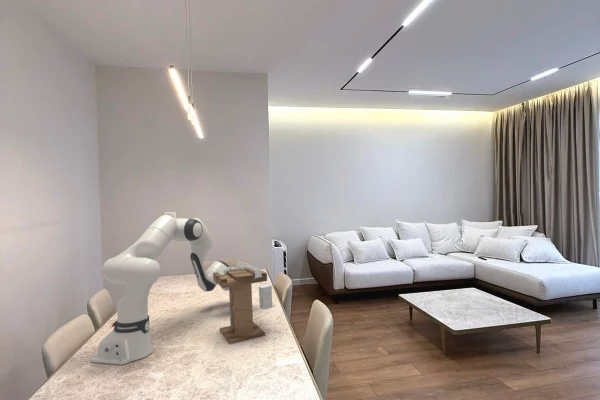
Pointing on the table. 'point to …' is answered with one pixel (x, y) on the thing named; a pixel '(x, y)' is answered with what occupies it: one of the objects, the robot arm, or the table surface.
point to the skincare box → (265, 296)
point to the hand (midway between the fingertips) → (238, 267)
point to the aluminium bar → (249, 269)
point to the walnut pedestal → (240, 304)
